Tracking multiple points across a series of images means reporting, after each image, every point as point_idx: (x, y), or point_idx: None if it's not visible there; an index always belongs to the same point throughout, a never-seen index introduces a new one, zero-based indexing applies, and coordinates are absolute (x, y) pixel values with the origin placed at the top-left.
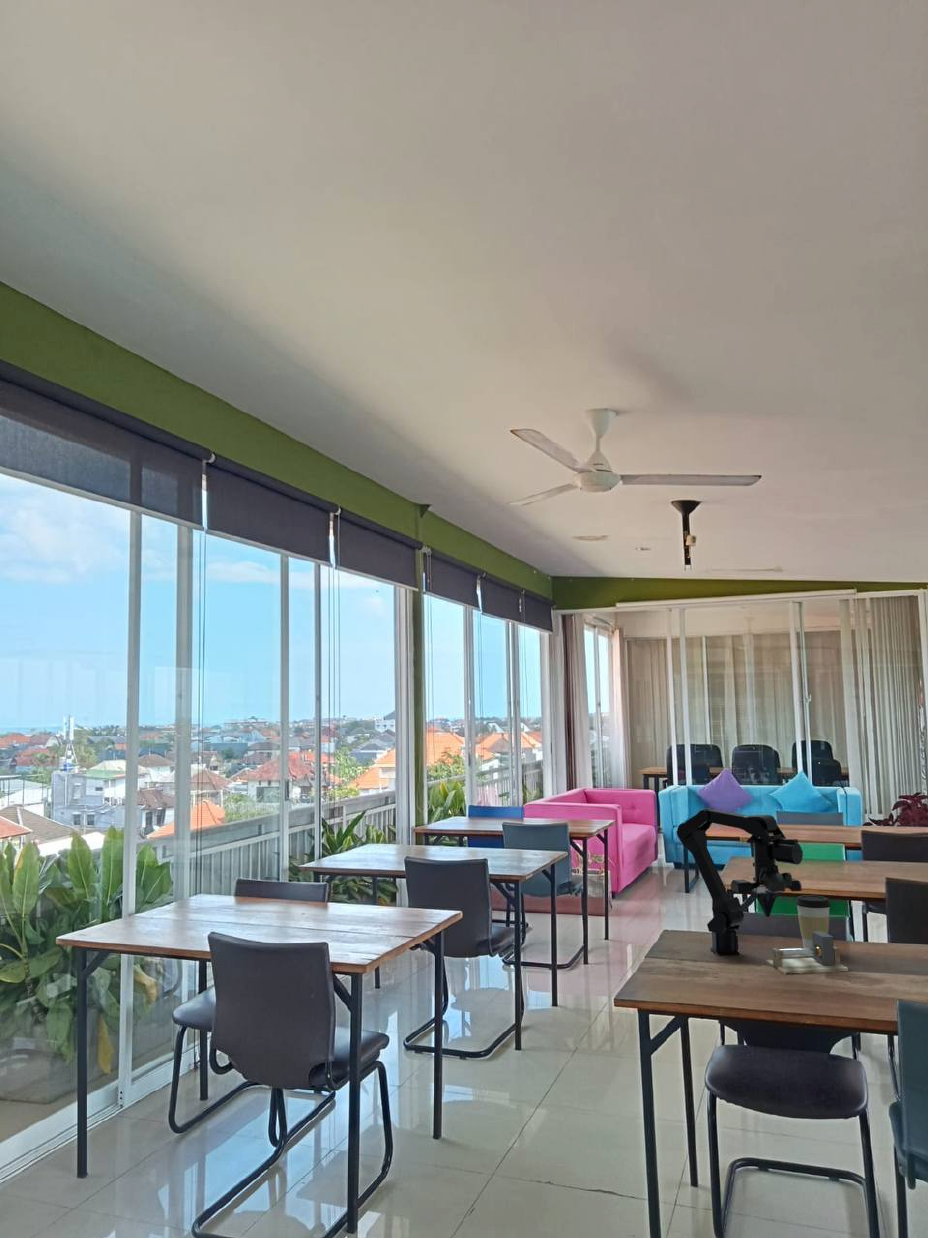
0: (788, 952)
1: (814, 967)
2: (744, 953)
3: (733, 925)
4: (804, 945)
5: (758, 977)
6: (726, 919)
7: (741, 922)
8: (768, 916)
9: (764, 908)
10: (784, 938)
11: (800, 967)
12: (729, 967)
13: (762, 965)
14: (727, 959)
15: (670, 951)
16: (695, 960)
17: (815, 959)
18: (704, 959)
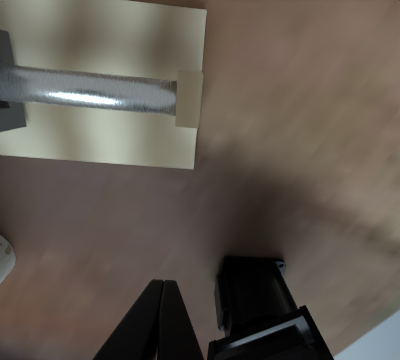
0: (140, 78)
1: (59, 28)
2: (201, 264)
3: (266, 336)
4: (4, 265)
5: (325, 3)
6: (331, 358)
7: (215, 357)
8: (160, 281)
9: (198, 352)
10: (34, 349)
11: (118, 44)
12: (332, 151)
13: (219, 147)
14: (282, 226)
15: (367, 310)
16: (370, 235)
17: (20, 108)
18: (341, 239)
